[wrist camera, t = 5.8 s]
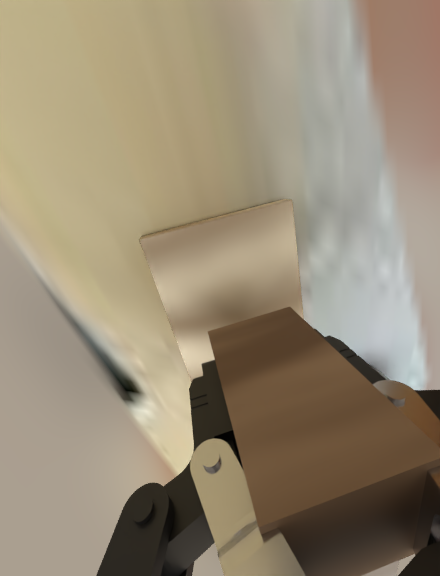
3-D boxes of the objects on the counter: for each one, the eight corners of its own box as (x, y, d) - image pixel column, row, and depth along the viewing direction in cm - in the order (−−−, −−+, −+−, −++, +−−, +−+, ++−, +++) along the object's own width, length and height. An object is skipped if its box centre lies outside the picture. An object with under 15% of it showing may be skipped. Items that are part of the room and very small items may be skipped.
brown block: (196, 334, 11) (232, 537, 4) (299, 303, 11) (469, 446, 5) (242, 477, 15) (294, 685, 9) (315, 450, 16) (417, 630, 9)
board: (141, 236, 16) (139, 240, 15) (284, 199, 17) (292, 199, 15) (225, 468, 26) (227, 480, 25) (310, 438, 27) (316, 448, 26)
